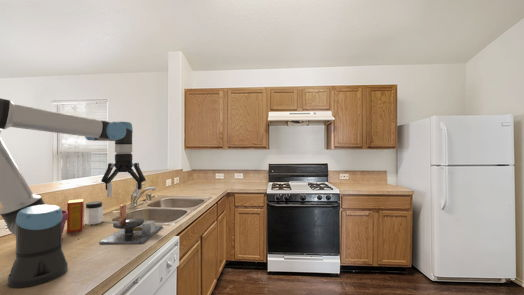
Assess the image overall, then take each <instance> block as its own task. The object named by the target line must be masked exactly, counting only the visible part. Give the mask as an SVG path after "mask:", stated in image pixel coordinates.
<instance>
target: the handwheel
mask: <svg viewBox="0 0 524 295" xmlns="http://www.w3.org/2000/svg"><path fill="white" fill-rule="evenodd" d="M144 222H145V219H144V218H138V217H134V218H133V217H132V218H131V217H130V218H127V204H119V220H117V221H114V222H113V223H112V227H113V228H114V229H116V230H117V229H118V230H120V229H125V233H132V232H133V231H142V227H137V226H142V224H143V223H144Z"/></svg>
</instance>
